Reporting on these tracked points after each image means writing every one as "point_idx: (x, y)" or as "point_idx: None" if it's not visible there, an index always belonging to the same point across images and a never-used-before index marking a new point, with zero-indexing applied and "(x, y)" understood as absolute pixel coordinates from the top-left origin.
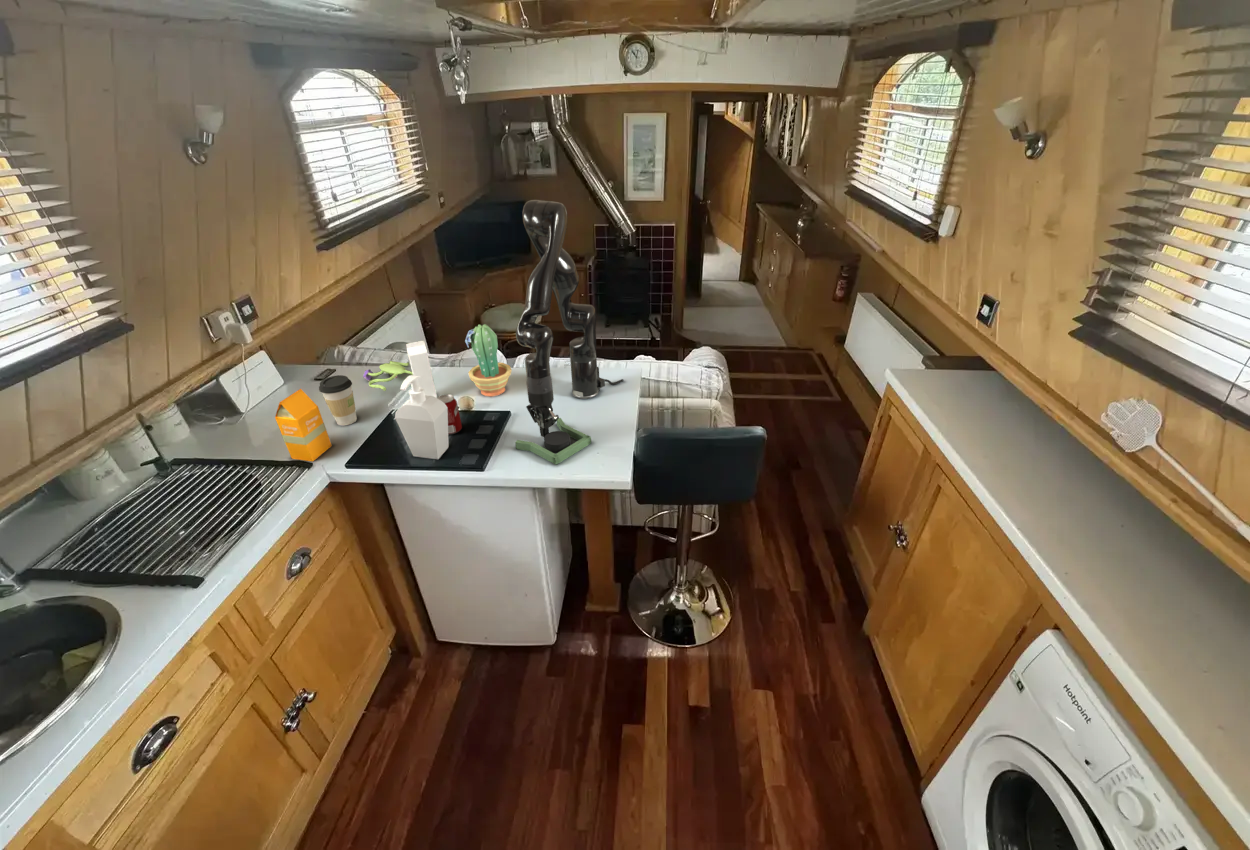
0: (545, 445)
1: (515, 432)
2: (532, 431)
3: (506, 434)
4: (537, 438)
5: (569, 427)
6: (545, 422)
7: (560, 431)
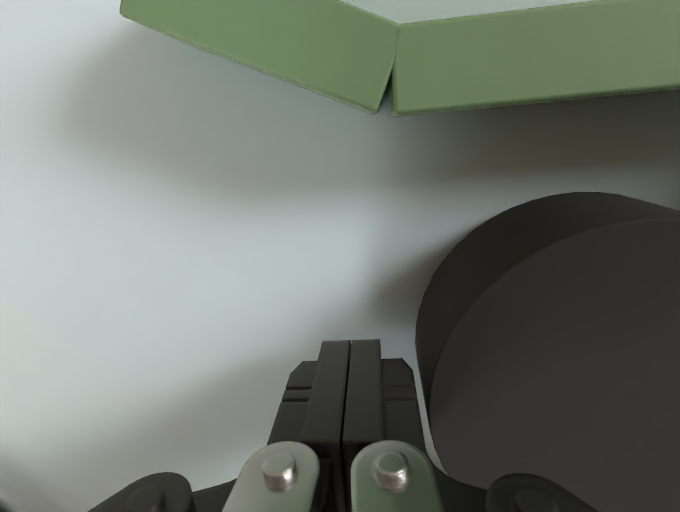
0: None
1: (53, 439)
2: (129, 333)
3: (42, 498)
4: (279, 378)
5: (535, 33)
6: (318, 484)
7: (541, 265)
